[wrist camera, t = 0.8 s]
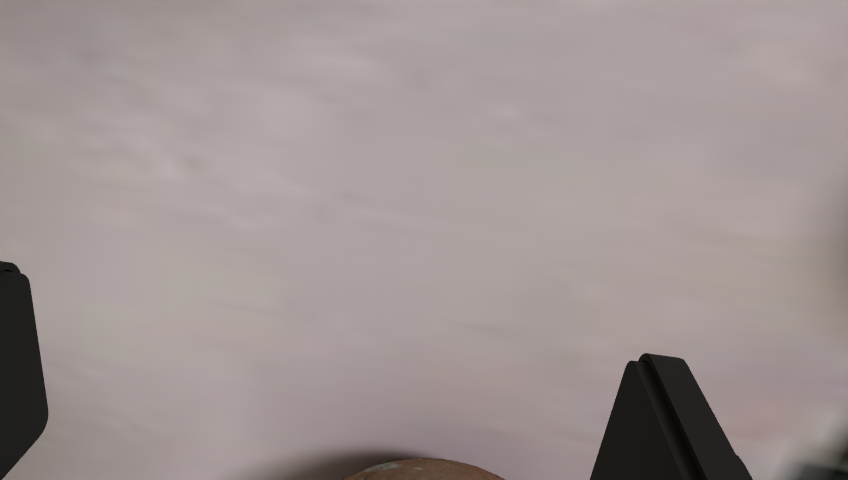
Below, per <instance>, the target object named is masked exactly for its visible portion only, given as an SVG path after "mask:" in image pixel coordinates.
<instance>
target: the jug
mask: <svg viewBox="0 0 848 480" xmlns="http://www.w3.org/2000/svg"><path fill="white" fill-rule="evenodd" d="M344 480H505V479H503V478H501V477H499V476H497V475H495V474H493V473H491V472H488V471H486V470H484V469H481V468H479V467H476V466H473V465H469V464H465V463H461V462H457V461H452V460H445V459H432V458H420V459H405V460H397V461H392V462H388V463H384V464H380V465H375V466H372V467H370V468H368V469H365V470H363V471H361V472H358V473H356V474H354V475H352V476H350V477H348V478H346V479H344Z"/></svg>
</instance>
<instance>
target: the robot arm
mask: <svg viewBox="0 0 848 480" xmlns="http://www.w3.org/2000/svg"><path fill="white" fill-rule="evenodd" d="M47 420H48V405H47V398H46V391H45V385H44V378H43V371H42V364H41V357H40V350H39V343H38V336H37V330H36V323H35V316H34V309H33V302H32V295H31V288H30V283H29V279H28V278H27V277H26V276H25V275H24V274H21V273H20V270H19V269H18V267H17V266H16V265H14V264H13V263H9V262H2V261H0V480H2V479H3V478H4V477H5V476H6V474H7V473H8V472H9V471H10V470H11V469H12V468H13V466H14V465H15V464H16V463H17V462H18V461H19V460H20V458H21V457H22V456H23V455H24V454H25V453H26V452H27V450H28V449H29V448H30V447H31V446H32V445H33V444H34V442H35V441H36V440H37V439H38V438H39V437H40V435H41V434H42V433H43V431H44V429H45V427H46V424H47ZM590 480H753V479H752V477H751V476H750V474H749V472H748V470H747V468H746V466H745V465H744V463H743V462H742V461H741V459H740V458H739V456H737V455H736V454H735V452H734V450H733V449H732V447H731V445H730V443H729V441H728V439H727V437H726V436H725V434H724V432H723V430H722V428H721V426H720V425H719V423H718V421H717V419H716V417H715V415H714V413H713V412H712V410H711V408H710V406H709V404H708V402H707V400H706V399H705V397H704V395H703V393H702V391H701V389H700V388H699V386H698V384H697V382H696V380H695V378H694V376H693V375H692V373H691V371H690V369H689V367H688V365H687V364H686V362H685V361H684V360H683V359H681V358H676V357H669V356H662V355H655V354H648V353H645V354H643V355H642V356H641V357H640V358H639V361H629V362H628V364H627V366H626V368H625V371H624V374H623V377H622V380H621V383H620V387H619V390H618V393H617V396H616V399H615V402H614V405H613V409H612V412H611V415H610V418H609V421H608V424H607V427H606V431H605V434H604V437H603V440H602V443H601V446H600V449H599V453H598V456H597V459H596V462H595V465H594V468H593V471H592V475H591V478H590Z"/></svg>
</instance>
